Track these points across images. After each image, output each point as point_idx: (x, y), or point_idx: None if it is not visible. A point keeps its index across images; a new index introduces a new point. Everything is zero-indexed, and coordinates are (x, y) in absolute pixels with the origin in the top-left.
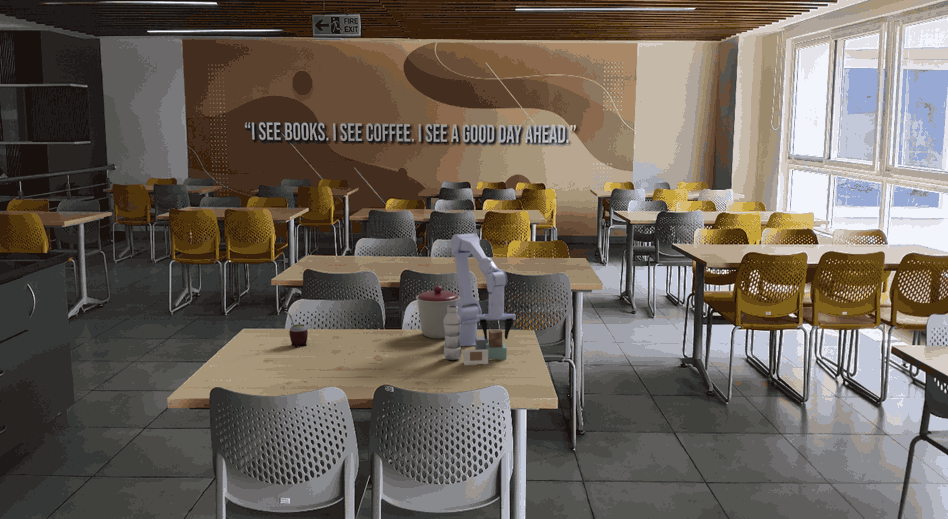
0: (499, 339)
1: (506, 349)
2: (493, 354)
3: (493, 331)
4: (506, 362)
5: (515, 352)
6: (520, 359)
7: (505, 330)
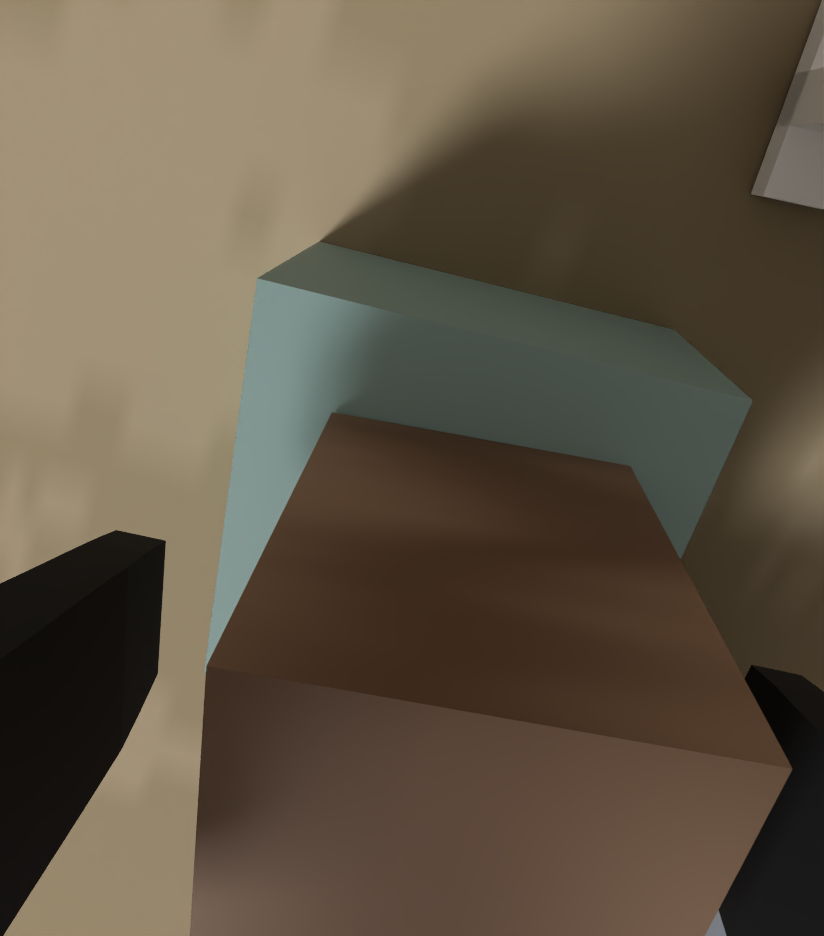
0: (384, 520)
1: (267, 275)
2: (580, 324)
3: (547, 895)
4: (386, 17)
5: (69, 546)
6: (52, 137)
7: (3, 842)
